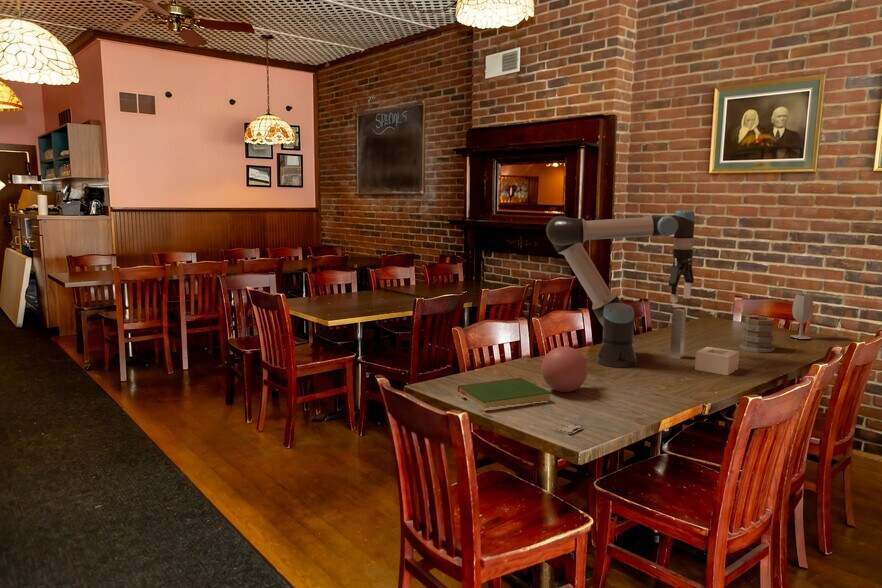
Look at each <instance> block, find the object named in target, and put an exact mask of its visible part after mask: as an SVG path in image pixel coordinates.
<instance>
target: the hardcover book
mask: <svg viewBox="0 0 882 588" xmlns="http://www.w3.org/2000/svg"><path fill="white" fill-rule="evenodd" d="M458 392H460V393H461V394H463V395H465V396H467V397H468V398H470V399H472V400H473V401H475V402H476V403H478V404H479V405H481V406H482V407H484V408H489V407H498V406H506V405H516V404H525V403H533V402H541V401H549V400H550V401H551V394H552V391H549V390H547V389H544V388H543V387H541V386H538V385H536V384H535V383H532V382H530V381H529V380H526V379H525V378H523V377H516V378H508V379H500V380H492V381H484V382H476V383H470V384H469V383H468V384H460V385H458V386H457V393H458Z"/></svg>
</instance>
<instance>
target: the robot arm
mask: <svg viewBox="0 0 882 588" xmlns="http://www.w3.org/2000/svg"><path fill="white" fill-rule="evenodd" d="M695 219H696V218H695V211H694V210H688V209H687V210H676V211H674V214H673V215H662V214H659V215H658V214H657V215H655V214H652V215H646V216H644V217H642V216H641V217H628V218H626V217H625V218H610V219H607V218H606V219H594V220H586V219H584V218H583V217H582V218H572V217H567V216H566V215H565V216H564V215H558V216H555V217H553V218H552V219H550V220H549V221H548V223H547V225H546V226H545V227H546V228H545V233H546V234H545V235H546V237H547V238H548V240H549V241H550V242H551V245H552V246H553V247H554V249H555V251H556V252H557V254H559V255H563V256H564V258H565V260H566V262H567V263H568V264H569V266H570V268H571V270H572V271H573V274H575V276H576V278H577V279H578V281H579V283H580V285H581V286H582V287H583V289H584V291H585V293H586V294H587V296H588V297H589V300H590V301H591V302H592V306H591V309H592V312H593V313H594V314H595V316H596V318H597V319H598V321H599V323H600V325H601V326H602V344H601V346H600V349H599V352H598V354H597V358H596V359H597V360H596V361H597V363H598V364H599V365H603V366H605V367H609V368H610V367H613V368H632V367H635V366H637V356H636V355H637V354H636V352H635V350H634V349H635V348H634V346H633V345H634V344H633V342H634V326H635V325H634V319H635V309H634V307H633V306H631V305H630V304H626V303H622V301H621V299H620V297H619V296H618V294H616V293H613V292H611V290H610V288H609V287H608V285H607V284H606V282H605V280H604V278H603V277H602V275H601V274H600V272H599V270H598V269H597V267H596V265H595V264H594V262H593V261H592V259H591V257H590V255H589V254H588V252H587V251H586V249H585V248H584V246H583V244H584V243H585V242H586V241H592V240H604V239H605V240H608V239H611V240H612V239H624V238H625V239H626V238H641V237H642V238H643V237H661V236H663V237H670V236H672V235H673V243H672V245H673V248H674V249H673V251H672V258H673V259H676V260H674V261H672V267H671V273H670V277H669V279H668V286H669V287H670V300H669V301H670V303H678V301H679V286H678V285H679V282H680V279H681V277H682V275H683V278H684V283H683V299H692V297H691V295H692V284H694V282H695V278H694V272H693V265H692V264H693V260H692V259H693V258H694V257H693V256H694V250H693V248H694V244H695V240H694V236H695V223H696V221H695Z"/></svg>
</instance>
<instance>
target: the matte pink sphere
mask: <svg viewBox="0 0 882 588" xmlns="http://www.w3.org/2000/svg"><path fill="white" fill-rule="evenodd" d="M590 360H591V358H590V357H588V356H587V357H584V355H583V354H582V353H581V352H580V351H579V350H577V349H575V348H573V347H570V346H557V347H555V348H553V349H551V350H550V351H548V353H546V355H544V358H543V360H542V363H541V374H542V378H543V380H544V382H545V384H547V385H548V387H549V388H551V389H552V390H555V391H557V392H559V393H560V392H561V393H571V392H573V391H576V390H577V389H579V388H580V387H581V386H582V385H584V383H585V382H586V380H587V377H588V371H589V369H588V368H589V367H588V363H587V362H590Z"/></svg>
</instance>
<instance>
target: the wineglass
mask: <svg viewBox="0 0 882 588" xmlns="http://www.w3.org/2000/svg"><path fill="white" fill-rule="evenodd" d="M814 307H815V306H814V299H813V295H811V294H807V293H797V294H796V295H795V297H794V299H793V303H792V309H791V311H792V312H791V313H792V317H793V318H794V319H795V320H796V322H798V323H799V329H798V334H794V335H793V334H792V335H790V336H791V337H794V338H799V339H810V338H812V337H810V336H807V335H803V333H804V324H805V323H806V322H807V321H809V320H811V318H812V316H813V314H814ZM810 340H811V339H810Z"/></svg>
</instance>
